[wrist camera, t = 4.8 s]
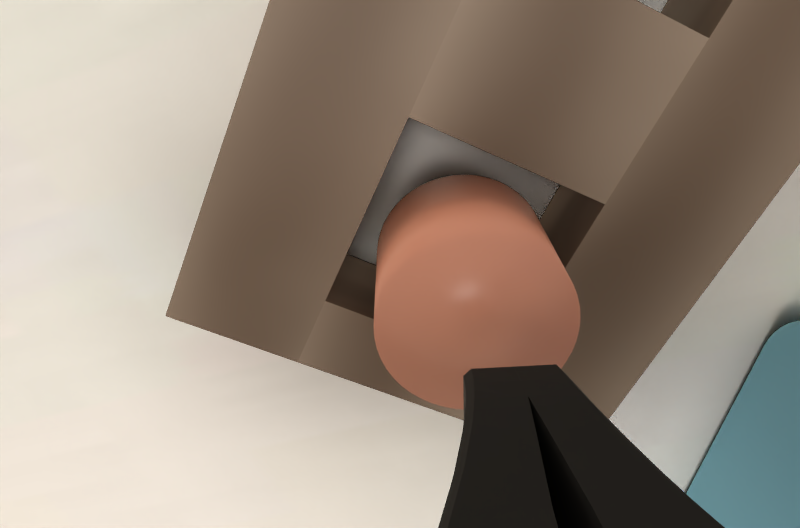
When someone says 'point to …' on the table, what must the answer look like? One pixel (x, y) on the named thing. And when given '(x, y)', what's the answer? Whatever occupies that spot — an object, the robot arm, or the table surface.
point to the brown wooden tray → (505, 138)
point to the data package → (758, 445)
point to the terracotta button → (468, 288)
